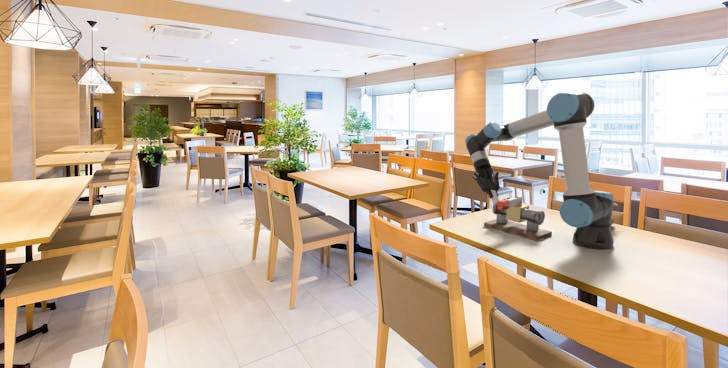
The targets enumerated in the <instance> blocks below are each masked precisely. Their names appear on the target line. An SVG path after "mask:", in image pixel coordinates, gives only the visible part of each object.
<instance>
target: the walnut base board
mask: <svg viewBox="0 0 728 368" xmlns="http://www.w3.org/2000/svg"><path fill="white" fill-rule="evenodd" d="M496 219H497V218H496ZM496 219H492V220H489V221H484V222H483V227H484V228H488V229H491V230H495V231H500V232H503V233H506V234H511V235H514V236H517V237H521V238H525V239H528V240H531V241H535V242H539V241H541V240H544V239H547V238H549V237H551V236H552V234H553V232H552V231H550V230H546V229H543V228H539V229H538V231H536V232H533V233H531V232H528V231H526V228H527V224H526V225H525V224H523V223H519V222H515V221H510V220H508V223H506V224H502V225H501V224H497V223H496Z"/></svg>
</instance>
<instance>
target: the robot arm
mask: <svg viewBox="0 0 728 368" xmlns="http://www.w3.org/2000/svg"><path fill="white" fill-rule="evenodd" d="M594 109H595V100H594V98H593V97H592V96H591V95H590V94H588V93H585V92H582V91H581V92H580V91H577V92H576V91H568V90H567V91H561V92H558V93H556V94H555V95H553V96H552V97H551V98H550V100H549V101H548V103H547V106H546V110H544V111H540V112H538V113H534V114H531V115H529V116H525V117H524V118H521V119H518V120H515V121H512V122H509V123H506V124H504V125H500V124H498V123H497V122H495V121H490V122H488V123H487V124H486V125H485V126H483V128H482V129H481V130H480V131H479V132H477V134H476V133H472V134H470V135H468V136H467V137H466V138H465V142H464V143H465V146H466V149H467V151H468V154H469V156H470V159H471V162H472V165H473V169H474V171H475V172H474V173H473V175H472V178H473V179H474V180H475V181H476V183H477V184H478V186H479V187H480V190H481V191H482V192H483V193H485V194H487V195H488V197H489V199H491V202H492V205H498V201H500V199H499V192H498V191H499V190H500V189H501V188H500V181H499V180H500V179H499V174H500V173H499V171H497V172H495V171H494V170H493V168H492V164H491V162H490V160H489V157H488V155H487V152H486V150H485V148H486V147H488V146H489V145H490V144H491V143H493V142H494V143H495V142H504V141H507V142H508V141H512V140H514V139H515V138H517V137H518V138H519V137H521V136H524V135H528V134H531V133H533V132H537V131H540V130H544V129H546V128H550V127H553V126H554V127H553V129H555V130H556V131H557V132H558V134H559V141H560V143H559V144H560V150H561V158H562V159H561V160H562V168H563V173H564V174H563V176H564V183H565V191H564V192H562V198H563V201H562V203H561V205H560V207H559V215H560V218H561V219H562V221H563V222H564V223H566V224H567V225H568V226H570V227H573V228H576V230H575V232H574V234H573V236H572V242H573V243H574V244H576V245H578V246H582V247H585V248H587V249H588V248H589V249H596V250H608V249H612V248H613V247H614V244H615V243H614V236H613V233H612V230H611V226H612V225H611V218H612V217H613V216H612V215H613V208H614V206H613V203H615V200H614V199H615V198H614V194H613V193H612V192H608V191H603V190H594V189H593V188H591V183H590V175H589V166H588V159H587V150H586V142H585V133H584V127H585V126H586V125H587V119H588V118H589V117H590V116H591V115H592V113H593V112H594Z"/></svg>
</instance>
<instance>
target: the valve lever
mask: <svg viewBox="0 0 728 368" xmlns="http://www.w3.org/2000/svg"><path fill="white" fill-rule="evenodd" d="M523 199H524V196H522V195H514V197H512V198H509V199H504V198H503V199H499V201H498V205H497V209H499V210H505V209H509V207H512V206H522V204H523Z"/></svg>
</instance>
